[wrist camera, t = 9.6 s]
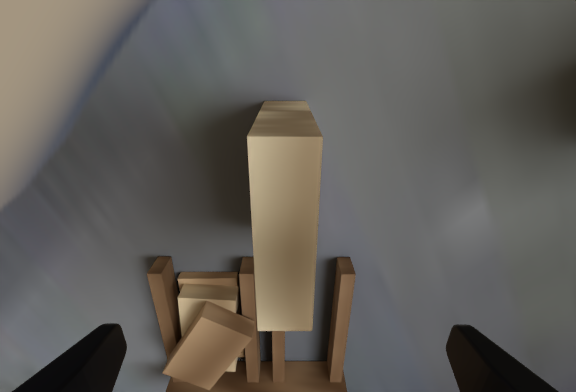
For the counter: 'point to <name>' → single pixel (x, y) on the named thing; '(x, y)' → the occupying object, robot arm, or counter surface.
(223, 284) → the board
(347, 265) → the rack
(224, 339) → the offcut top
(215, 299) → the block
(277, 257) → the tall beige upright block
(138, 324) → the counter surface
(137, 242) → the counter surface
